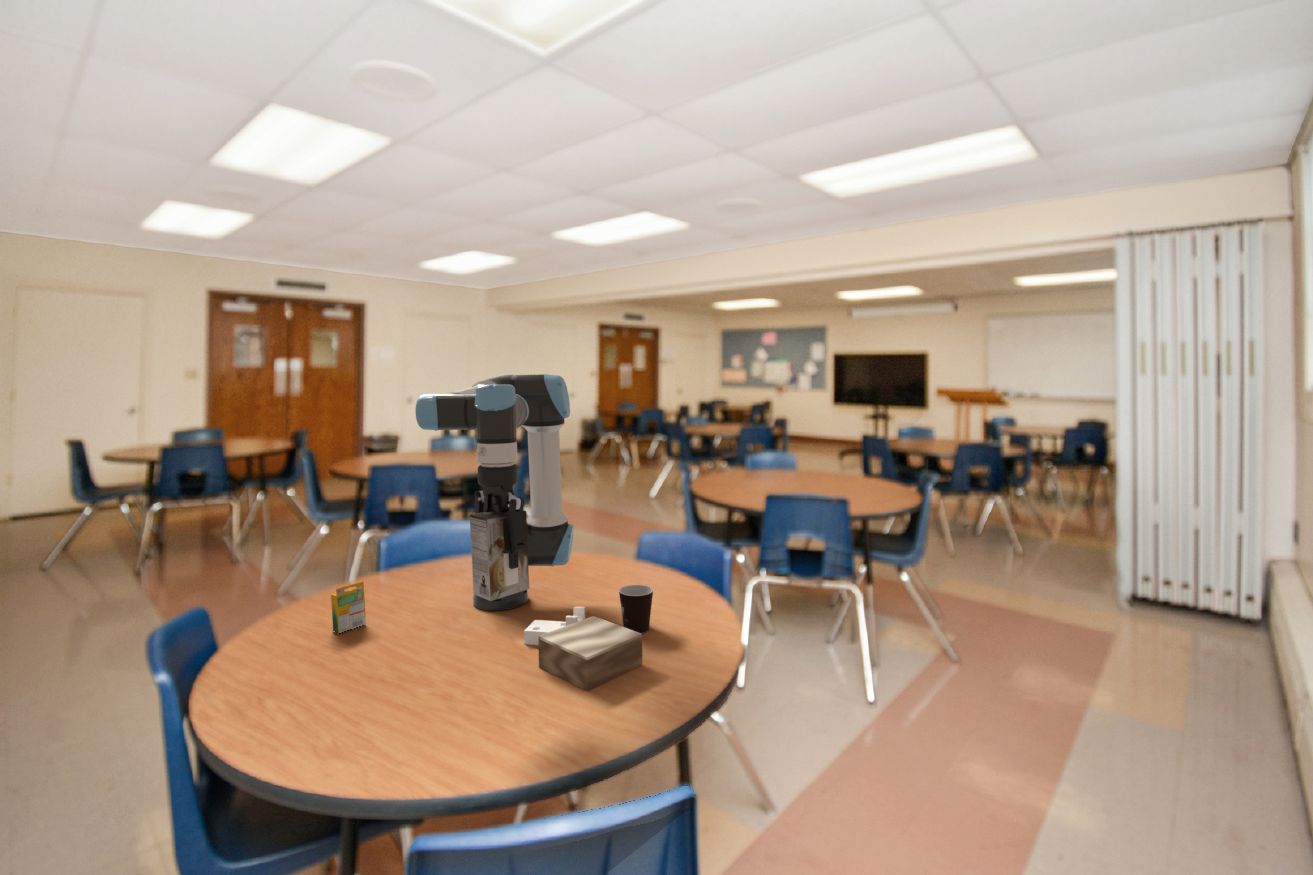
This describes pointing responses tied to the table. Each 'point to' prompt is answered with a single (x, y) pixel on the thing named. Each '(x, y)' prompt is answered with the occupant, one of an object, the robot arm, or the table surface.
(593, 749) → the table surface
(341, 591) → the crayon box
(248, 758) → the table surface
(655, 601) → the table surface
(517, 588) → the coffee box
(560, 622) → the bracket
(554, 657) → the riser block
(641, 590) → the coffee mug
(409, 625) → the table surface
